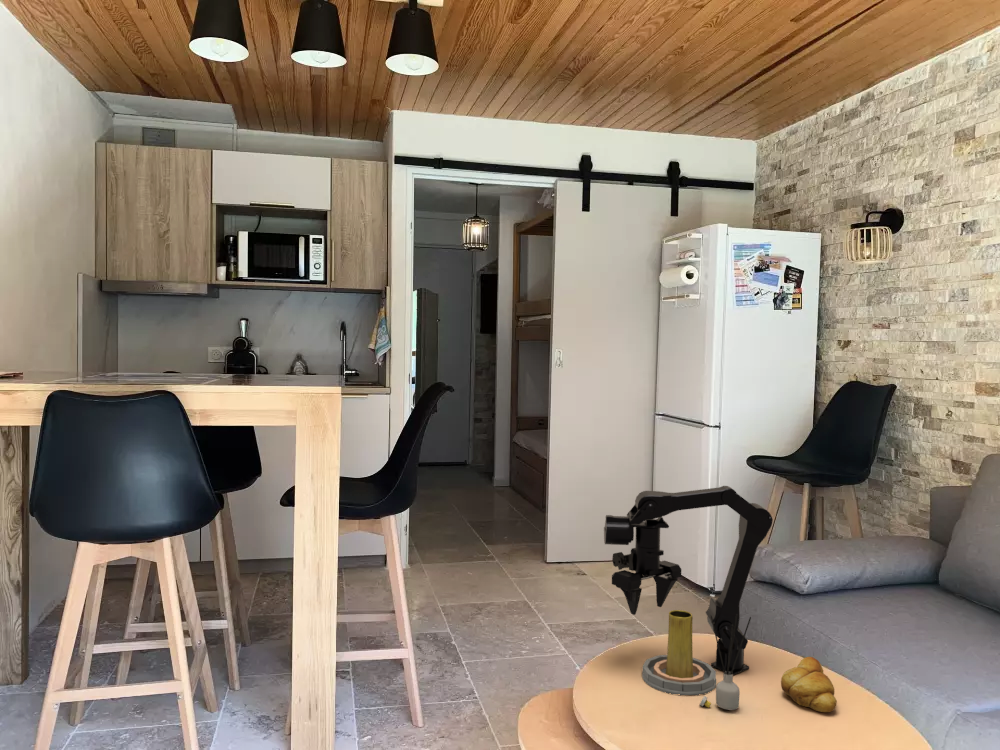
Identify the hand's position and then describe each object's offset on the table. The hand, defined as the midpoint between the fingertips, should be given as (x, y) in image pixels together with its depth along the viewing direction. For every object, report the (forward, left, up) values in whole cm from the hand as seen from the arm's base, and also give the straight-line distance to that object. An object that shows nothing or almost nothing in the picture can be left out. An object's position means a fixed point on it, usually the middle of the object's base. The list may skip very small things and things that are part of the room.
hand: (646, 610), depth 176 cm
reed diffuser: (+4, +25, -13) cm, 29 cm away
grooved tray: (0, +10, -13) cm, 16 cm away
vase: (0, +10, -12) cm, 16 cm away
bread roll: (-14, +34, -13) cm, 39 cm away
